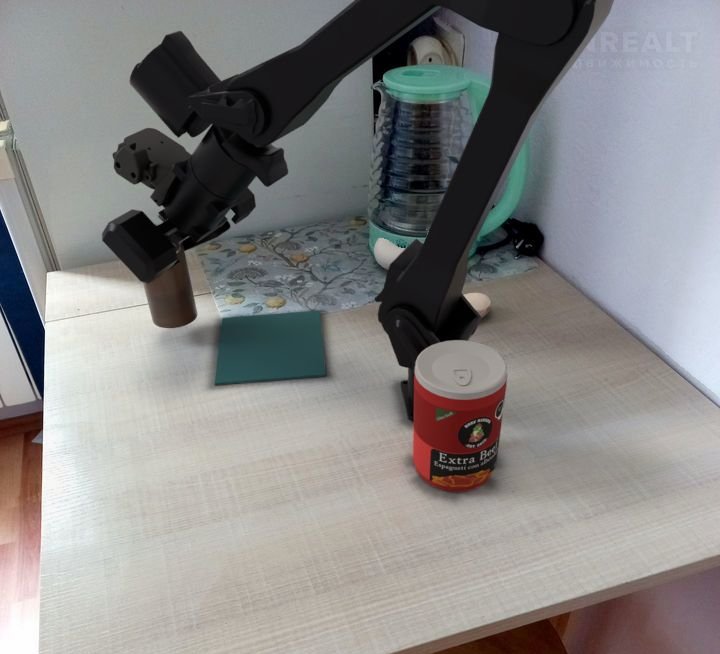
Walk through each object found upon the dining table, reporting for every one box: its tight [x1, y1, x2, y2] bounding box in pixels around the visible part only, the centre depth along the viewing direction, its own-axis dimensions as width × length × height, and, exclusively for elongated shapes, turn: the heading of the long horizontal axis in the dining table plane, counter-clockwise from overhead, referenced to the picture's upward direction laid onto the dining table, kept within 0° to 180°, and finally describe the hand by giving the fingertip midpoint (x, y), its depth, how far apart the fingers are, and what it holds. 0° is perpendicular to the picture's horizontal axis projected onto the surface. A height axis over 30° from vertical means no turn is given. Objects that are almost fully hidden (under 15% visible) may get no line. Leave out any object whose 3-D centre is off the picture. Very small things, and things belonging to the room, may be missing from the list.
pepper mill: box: [142, 223, 199, 329], centre depth 79 cm, size 5×5×11 cm
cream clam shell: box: [463, 292, 492, 319], centre depth 85 cm, size 4×5×2 cm
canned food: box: [412, 340, 508, 493], centre depth 62 cm, size 8×8×11 cm
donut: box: [373, 237, 406, 271], centre depth 96 cm, size 10×4×10 cm
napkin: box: [214, 310, 327, 386], centre depth 82 cm, size 14×12×1 cm
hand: (153, 262), depth 79 cm, fingers closed on pepper mill, 5 cm apart
